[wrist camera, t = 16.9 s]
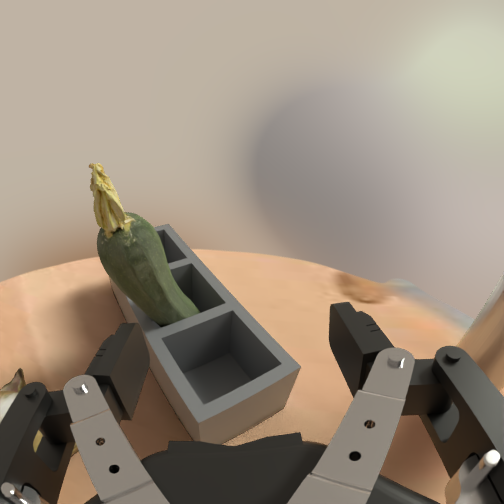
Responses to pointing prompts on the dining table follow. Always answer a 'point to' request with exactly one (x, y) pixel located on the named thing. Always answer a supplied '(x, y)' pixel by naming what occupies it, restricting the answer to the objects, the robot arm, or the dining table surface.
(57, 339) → the dining table surface
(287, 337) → the dining table surface
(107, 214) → the vegetable
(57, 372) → the dining table surface
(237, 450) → the robot arm
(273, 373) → the compartment organizer
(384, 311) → the dining table surface
